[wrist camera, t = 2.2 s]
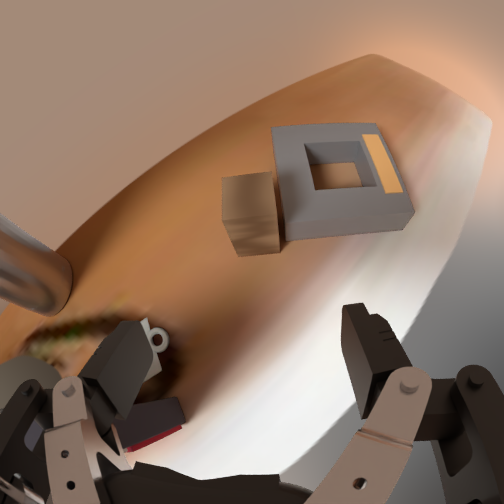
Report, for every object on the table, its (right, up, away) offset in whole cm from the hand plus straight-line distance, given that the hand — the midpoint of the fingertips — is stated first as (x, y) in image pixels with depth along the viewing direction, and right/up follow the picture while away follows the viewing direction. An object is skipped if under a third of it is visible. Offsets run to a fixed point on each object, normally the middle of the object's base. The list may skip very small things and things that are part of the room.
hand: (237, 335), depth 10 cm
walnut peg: (+1, +5, +20) cm, 21 cm away
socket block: (+11, +11, +22) cm, 27 cm away
